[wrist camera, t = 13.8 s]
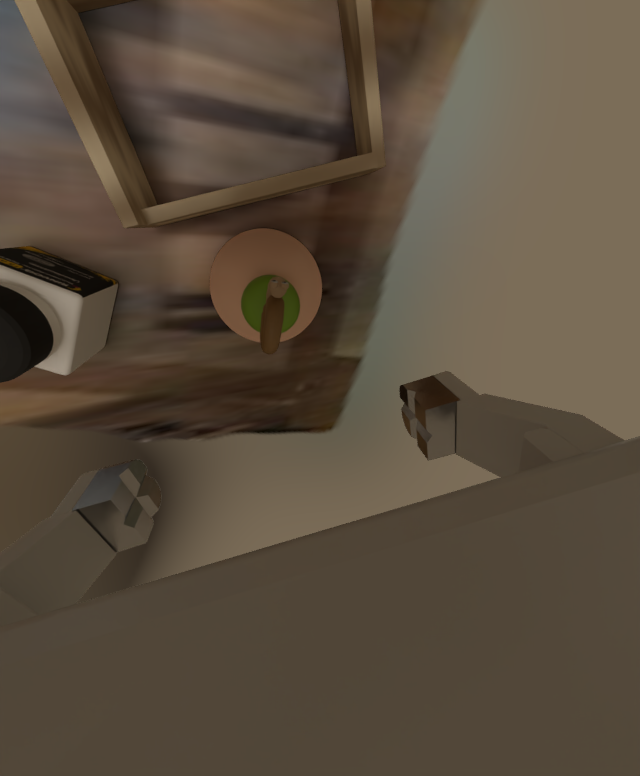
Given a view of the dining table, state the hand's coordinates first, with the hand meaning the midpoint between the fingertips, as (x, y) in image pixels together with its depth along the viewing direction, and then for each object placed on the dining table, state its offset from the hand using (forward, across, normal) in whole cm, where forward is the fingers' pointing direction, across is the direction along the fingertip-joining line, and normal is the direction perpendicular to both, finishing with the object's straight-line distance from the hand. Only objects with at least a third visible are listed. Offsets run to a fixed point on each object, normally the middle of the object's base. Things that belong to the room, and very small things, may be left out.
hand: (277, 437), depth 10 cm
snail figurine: (+24, 0, 0) cm, 24 cm away
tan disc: (+25, 0, 0) cm, 25 cm away
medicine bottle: (+25, +18, -3) cm, 31 cm away
